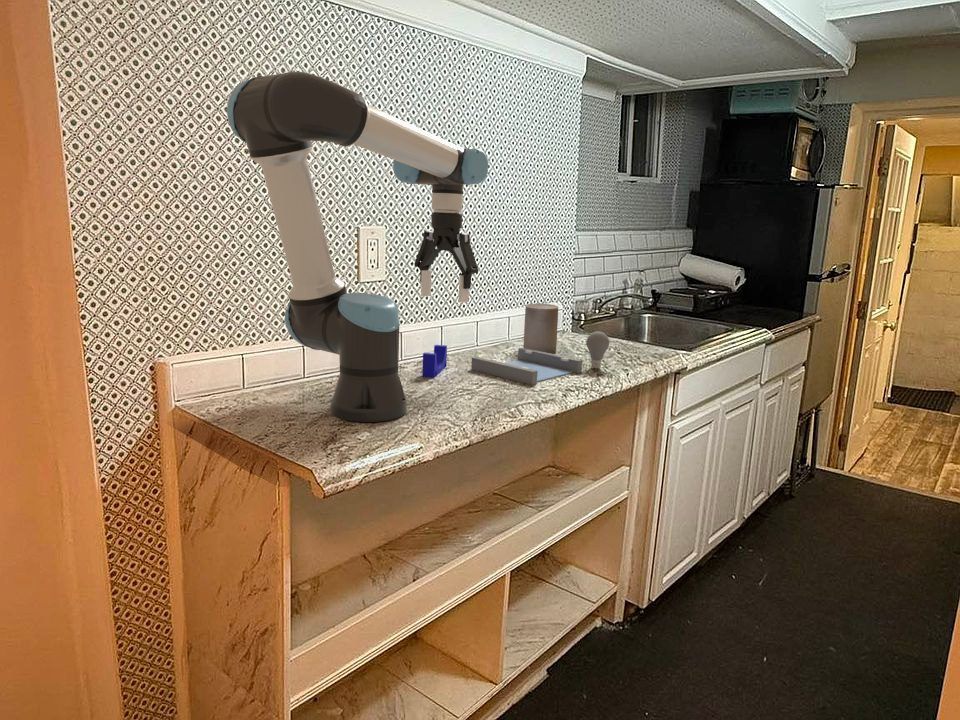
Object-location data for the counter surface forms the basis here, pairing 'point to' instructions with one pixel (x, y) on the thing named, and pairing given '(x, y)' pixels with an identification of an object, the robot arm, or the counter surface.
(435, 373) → the cable clip
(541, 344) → the pillar candle
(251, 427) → the counter surface
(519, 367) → the blue panel with rails
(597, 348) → the light bulb
